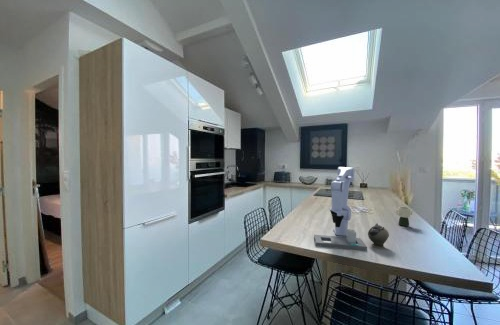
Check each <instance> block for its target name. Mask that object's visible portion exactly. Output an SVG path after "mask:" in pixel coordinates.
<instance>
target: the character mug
mask: <svg viewBox="0 0 500 325" xmlns="http://www.w3.org/2000/svg"><path fill="white" fill-rule="evenodd" d="M395 214H396V215H398V216H399V219H398V225H400V226H403V227H410V221H409V220H410V219H409V218H411V216H412V215H413V210H412V209H411V208H410V207H407V206H398V209H397V210H396V212H395Z"/></svg>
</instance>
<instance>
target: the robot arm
mask: <svg viewBox="0 0 500 325" xmlns="http://www.w3.org/2000/svg"><path fill="white" fill-rule="evenodd" d="M336 173H337V176H335V178H334V180H333V181H331V183H330V191H331V192H330V194H331V208H329V212H330V215H331V219H332V222H333V224H334V229H333V232H334V234H335V236H340V237H346V236H347V230H348V229H349V221H351V218H352V209H351V207H349V206H348V199H349V190H350V185H351V182H353V181H354V179H355V167H353V166H352V167H351V166H350V167H347V166H346V167H345V166H338V167H337V172H336Z"/></svg>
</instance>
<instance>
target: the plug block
mask: <svg viewBox="0 0 500 325" xmlns="http://www.w3.org/2000/svg"><path fill="white" fill-rule="evenodd" d="M345 237H346V240H347V242H348V243H355V244H356V238H357V232H356V231H355V229H354V228H348V230H347V236H345Z"/></svg>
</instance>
